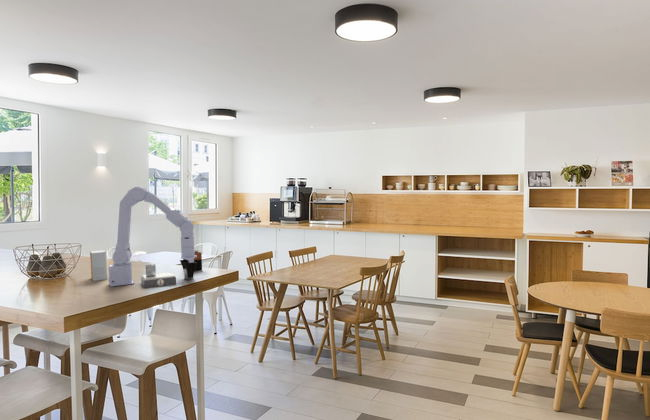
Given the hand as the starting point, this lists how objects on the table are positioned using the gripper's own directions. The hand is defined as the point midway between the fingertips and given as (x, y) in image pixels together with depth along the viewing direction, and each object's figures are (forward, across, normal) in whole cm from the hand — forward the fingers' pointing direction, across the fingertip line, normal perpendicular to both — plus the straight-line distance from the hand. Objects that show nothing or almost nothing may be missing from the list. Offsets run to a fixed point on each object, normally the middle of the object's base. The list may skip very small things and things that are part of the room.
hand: (188, 276), depth 205 cm
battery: (+2, +21, -7) cm, 22 cm away
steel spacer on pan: (-2, -2, +16) cm, 17 cm away
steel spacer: (+1, 0, 0) cm, 1 cm away
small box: (+2, +27, +36) cm, 45 cm away
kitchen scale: (+1, -2, +14) cm, 14 cm away
